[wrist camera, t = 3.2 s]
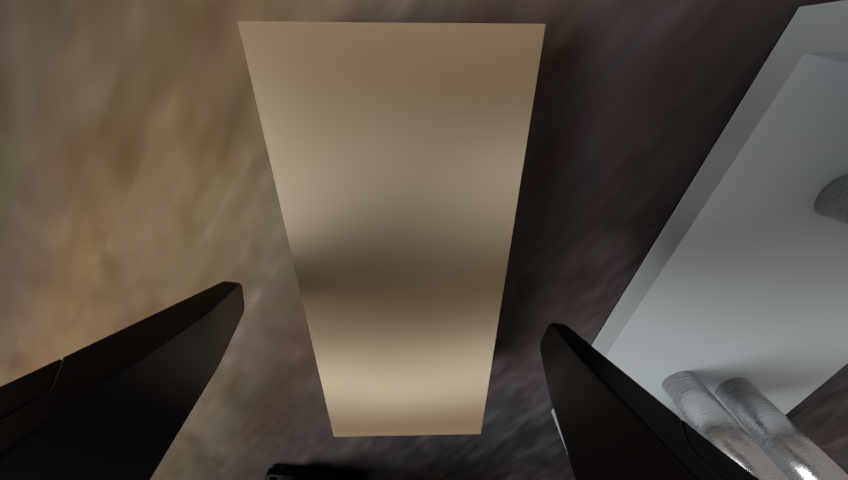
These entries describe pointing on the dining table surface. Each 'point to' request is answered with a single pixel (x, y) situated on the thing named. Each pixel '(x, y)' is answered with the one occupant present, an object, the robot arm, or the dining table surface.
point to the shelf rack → (754, 265)
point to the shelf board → (398, 204)
